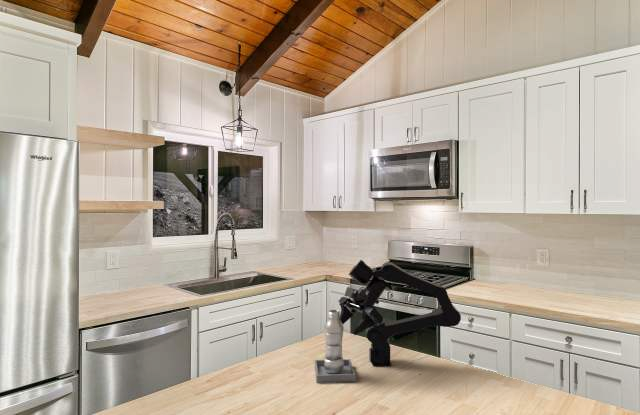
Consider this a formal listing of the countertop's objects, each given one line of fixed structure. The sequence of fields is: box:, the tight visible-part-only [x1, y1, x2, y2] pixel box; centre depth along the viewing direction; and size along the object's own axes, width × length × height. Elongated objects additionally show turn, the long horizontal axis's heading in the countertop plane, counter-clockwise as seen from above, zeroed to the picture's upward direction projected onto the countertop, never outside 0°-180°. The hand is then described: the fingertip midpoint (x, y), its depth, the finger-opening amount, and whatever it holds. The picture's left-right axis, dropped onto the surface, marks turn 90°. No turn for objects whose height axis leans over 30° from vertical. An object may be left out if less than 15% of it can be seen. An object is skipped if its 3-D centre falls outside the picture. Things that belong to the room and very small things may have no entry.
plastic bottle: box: [323, 309, 345, 374], centre depth 133 cm, size 6×7×20 cm
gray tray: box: [314, 358, 357, 384], centre depth 133 cm, size 12×12×2 cm
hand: (345, 330), depth 135 cm, fingers open, 9 cm apart
